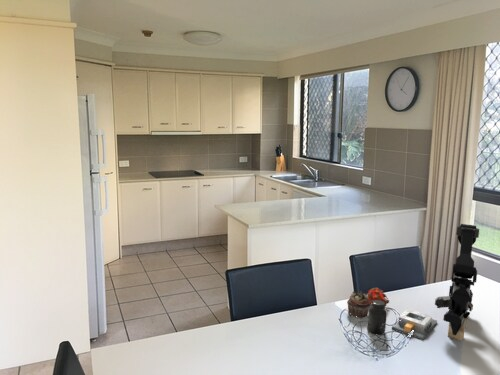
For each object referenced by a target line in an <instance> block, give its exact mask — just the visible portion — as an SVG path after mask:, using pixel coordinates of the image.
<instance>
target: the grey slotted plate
mask: <svg viewBox="0 0 500 375" xmlns="http://www.w3.org/2000/svg"><path fill="white" fill-rule="evenodd" d="M401 319H402V320H401ZM399 320H401V321H399ZM398 321H399V322H398V323H397V324H396V326H395V327H394V326H393V325H392V327H391V330H393V329H394V330H393V331H396V330H397V332H399V331H401V332H400V333H402V332H403V334H406V335H408V333H410V332H411V331H412V330H414V332H413V336H412V337H414V338H417V339H420V340H424V339H425V338H426V336H427V335H428V334H429V333H430V332H431V331H432V330H433V328H434V327H435V326H436V324H437V323H438V320H437V319H434V318H433V316H432V315H429V314H427V313H423V312H419V311H416V310H413V309H409V308H407V309H406V310H405V311H404V312H402V313H401V314H400V315H399V316H398Z"/></svg>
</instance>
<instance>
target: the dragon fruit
mask: <svg viewBox="0 0 500 375" xmlns="http://www.w3.org/2000/svg"><path fill="white" fill-rule="evenodd" d="M366 294H367V295H368V299H369V301H370V305H372V302H373V301H374V300H380V301H383V302H384V303H385V307H387V304H389V303H390V300H389V298H388V297H387V295H386V294H385V293H384V290H382V289H380V288H379V287H373V288H371V289H369V290H368V291H367V293H366Z"/></svg>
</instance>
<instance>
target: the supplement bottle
mask: <svg viewBox="0 0 500 375" xmlns="http://www.w3.org/2000/svg"><path fill="white" fill-rule="evenodd" d="M387 317H388V312H387V310H386V306H385V303H384V302H383V301H380V300H374V301H373V302H372V304H371V306H370V308H369V311H368V315H367V325H366V326H367V327H366V328H367V329H366V330H367V331H368V332H369V333H370V334H373V335H375V334H377V336H381V335H384V334H385V333H386V327H387V326H386V325H387ZM383 333H384V334H383Z"/></svg>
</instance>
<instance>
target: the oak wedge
mask: <svg viewBox="0 0 500 375" xmlns="http://www.w3.org/2000/svg"><path fill="white" fill-rule="evenodd" d="M466 320H467V319H466V318H464V323H463V325H462V326H461V328H460V329H459V331H458V333H457V334H456V335H453V333H452V328H451V323H450V322H448V330H447V337H449V338H452V339H453V340H454V339H455V340H458V341H461V342H462V341H463V339H464V338H465V330H466V329H465V328H466V324H467V323H466V322H467V321H466Z"/></svg>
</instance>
